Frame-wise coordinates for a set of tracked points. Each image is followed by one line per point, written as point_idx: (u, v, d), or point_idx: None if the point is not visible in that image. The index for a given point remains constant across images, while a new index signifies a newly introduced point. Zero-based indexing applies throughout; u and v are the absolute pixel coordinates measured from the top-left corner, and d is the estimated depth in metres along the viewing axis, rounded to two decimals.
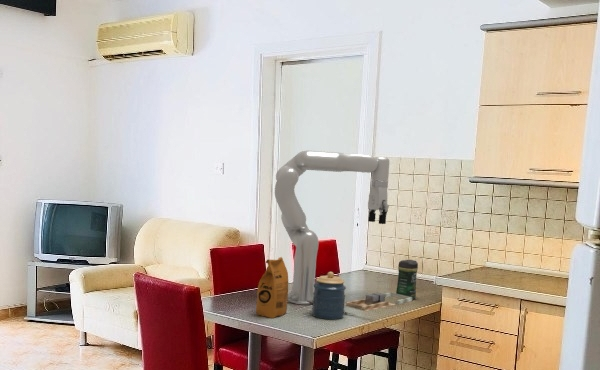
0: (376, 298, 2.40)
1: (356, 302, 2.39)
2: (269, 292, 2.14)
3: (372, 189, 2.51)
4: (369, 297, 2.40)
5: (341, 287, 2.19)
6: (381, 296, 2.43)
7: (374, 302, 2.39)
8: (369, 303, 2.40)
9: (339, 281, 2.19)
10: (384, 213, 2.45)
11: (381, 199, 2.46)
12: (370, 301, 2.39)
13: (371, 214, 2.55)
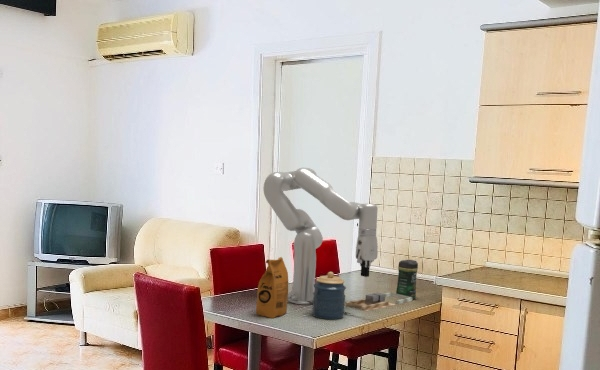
0: (376, 298, 2.40)
1: (356, 302, 2.39)
2: (269, 292, 2.14)
3: (370, 239, 2.33)
4: (369, 297, 2.40)
5: (341, 287, 2.19)
6: (381, 296, 2.43)
7: (374, 302, 2.39)
8: (369, 303, 2.40)
9: (339, 281, 2.19)
10: None
11: None
12: (370, 301, 2.39)
13: None
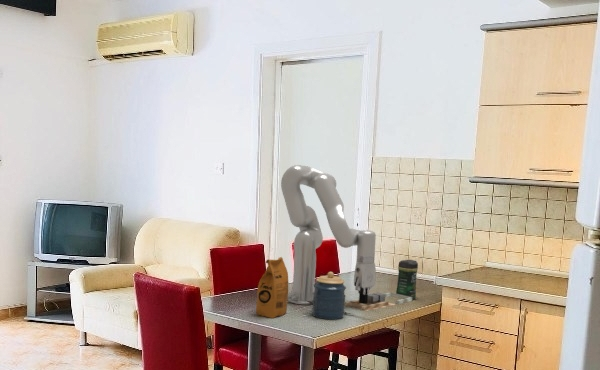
0: (376, 298, 2.40)
1: (356, 302, 2.39)
2: (269, 292, 2.14)
3: (368, 266, 2.33)
4: (369, 297, 2.40)
5: (341, 287, 2.19)
6: (381, 296, 2.43)
7: (374, 302, 2.39)
8: (369, 303, 2.40)
9: (339, 281, 2.19)
10: None
11: None
12: (370, 301, 2.39)
13: None
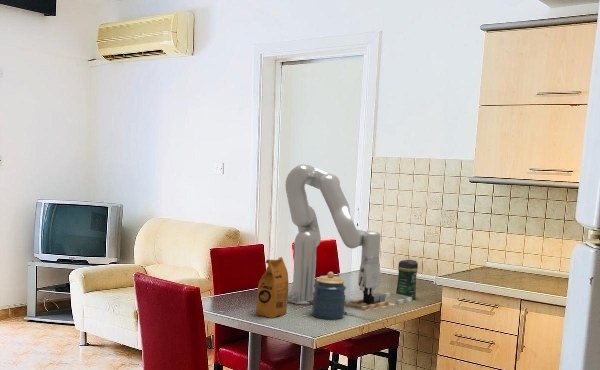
0: (377, 297, 2.40)
1: (356, 302, 2.39)
2: (269, 292, 2.14)
3: (373, 266, 2.36)
4: None
5: (341, 287, 2.19)
6: (381, 296, 2.43)
7: (375, 302, 2.40)
8: None
9: (339, 281, 2.19)
10: None
11: None
12: (371, 301, 2.40)
13: None
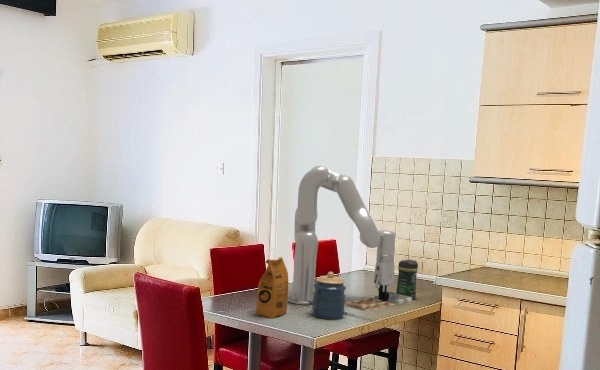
0: (391, 296, 2.48)
1: (356, 302, 2.39)
2: (269, 292, 2.14)
3: (388, 265, 2.44)
4: None
5: (341, 287, 2.19)
6: (395, 294, 2.51)
7: (389, 299, 2.47)
8: None
9: (339, 281, 2.19)
10: None
11: None
12: (386, 298, 2.47)
13: None
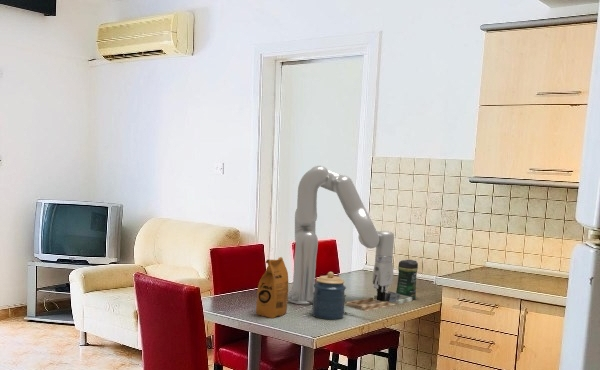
0: (393, 296, 2.49)
1: (356, 302, 2.39)
2: (269, 292, 2.14)
3: (386, 265, 2.44)
4: (386, 294, 2.49)
5: (341, 287, 2.19)
6: (396, 294, 2.52)
7: (390, 300, 2.48)
8: (385, 300, 2.48)
9: (339, 281, 2.19)
10: None
11: None
12: (387, 298, 2.48)
13: None
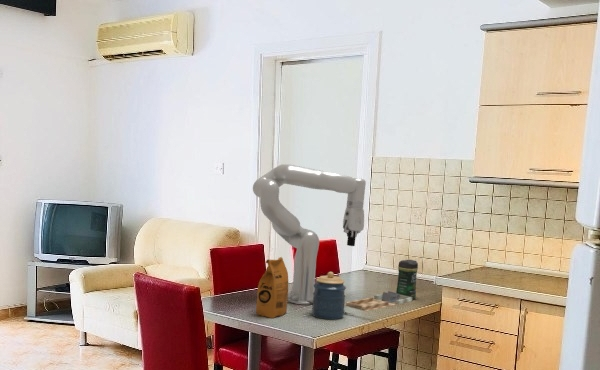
0: (393, 296, 2.49)
1: (356, 302, 2.39)
2: (269, 292, 2.14)
3: (357, 211, 2.50)
4: (386, 294, 2.49)
5: (341, 287, 2.19)
6: (396, 294, 2.52)
7: (390, 300, 2.48)
8: (385, 300, 2.48)
9: (339, 281, 2.19)
10: None
11: None
12: (387, 298, 2.48)
13: None
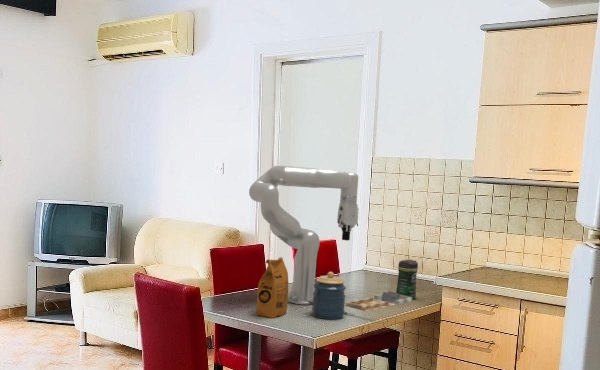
0: (393, 296, 2.49)
1: (356, 302, 2.39)
2: (269, 292, 2.14)
3: (351, 205, 2.52)
4: (386, 294, 2.49)
5: (341, 287, 2.19)
6: (396, 294, 2.52)
7: (390, 300, 2.48)
8: (385, 300, 2.48)
9: (339, 281, 2.19)
10: None
11: None
12: (387, 298, 2.48)
13: None
